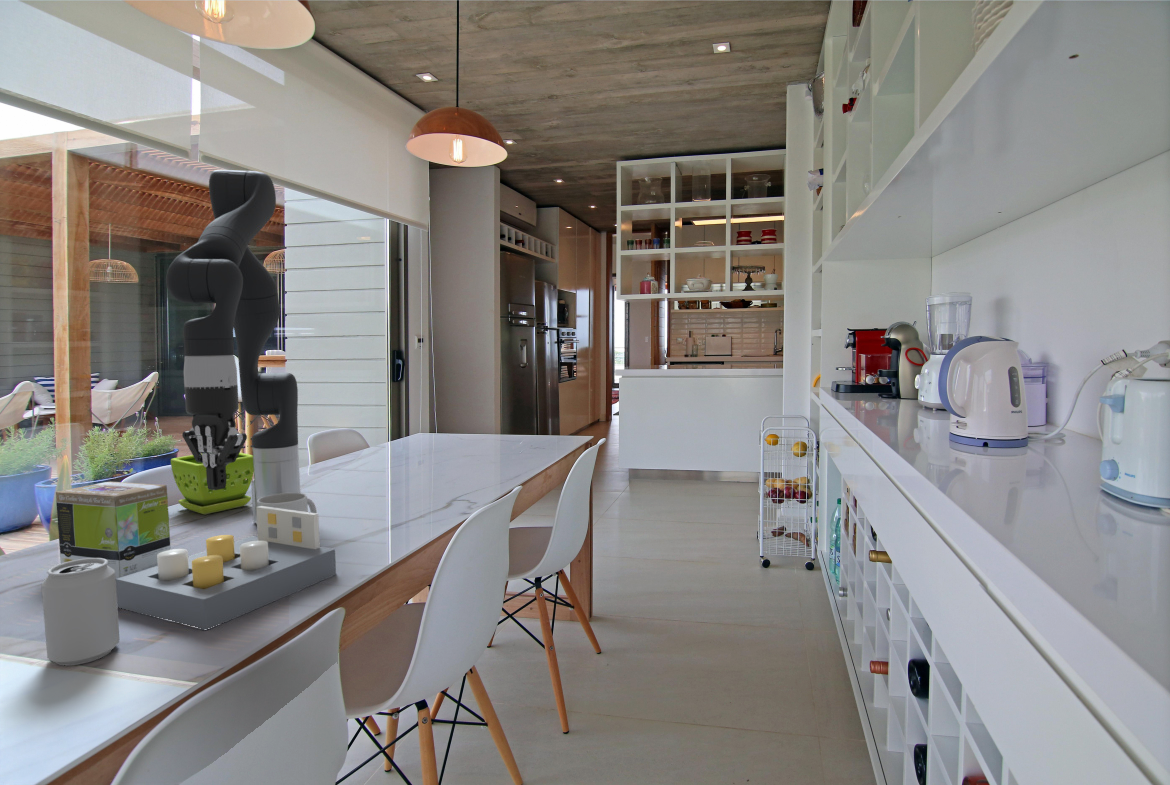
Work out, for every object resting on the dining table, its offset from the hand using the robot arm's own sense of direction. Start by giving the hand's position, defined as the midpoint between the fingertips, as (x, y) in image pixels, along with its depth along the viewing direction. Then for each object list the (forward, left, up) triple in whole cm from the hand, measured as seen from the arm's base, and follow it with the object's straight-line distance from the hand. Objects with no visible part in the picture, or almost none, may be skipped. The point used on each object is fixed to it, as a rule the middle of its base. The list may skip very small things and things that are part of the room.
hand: (217, 488), depth 109 cm
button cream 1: (0, -8, -13) cm, 16 cm away
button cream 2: (+8, 0, -13) cm, 15 cm away
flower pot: (-48, +34, -16) cm, 61 cm away
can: (+6, -24, -16) cm, 30 cm away
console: (+4, -1, -16) cm, 17 cm away
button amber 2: (+8, -8, -13) cm, 17 cm away
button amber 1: (0, 0, -13) cm, 13 cm away
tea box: (-25, -2, -16) cm, 30 cm away
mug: (-6, +19, -16) cm, 26 cm away
